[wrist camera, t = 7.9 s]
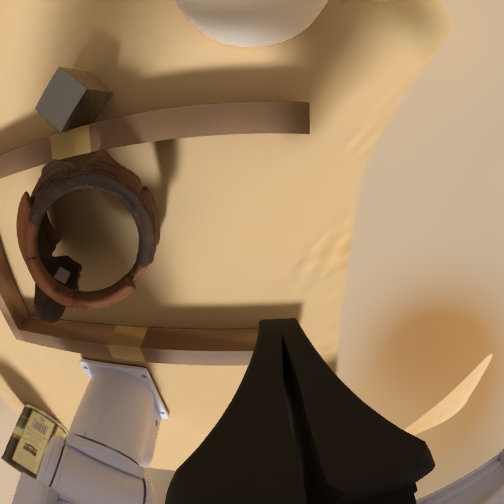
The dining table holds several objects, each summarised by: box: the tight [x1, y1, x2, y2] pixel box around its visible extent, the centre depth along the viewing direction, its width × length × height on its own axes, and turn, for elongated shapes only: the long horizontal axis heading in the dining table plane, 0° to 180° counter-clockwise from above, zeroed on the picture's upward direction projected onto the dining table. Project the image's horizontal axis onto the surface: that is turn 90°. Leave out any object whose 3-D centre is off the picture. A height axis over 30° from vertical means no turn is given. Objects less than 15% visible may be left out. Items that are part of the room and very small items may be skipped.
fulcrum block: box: [35, 67, 113, 133], centre depth 12 cm, size 3×3×3 cm
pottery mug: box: [17, 149, 160, 323], centre depth 15 cm, size 12×10×8 cm
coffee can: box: [2, 404, 68, 479], centre depth 27 cm, size 10×10×14 cm
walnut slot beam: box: [0, 101, 310, 365], centre depth 17 cm, size 17×28×2 cm, turn 91°
